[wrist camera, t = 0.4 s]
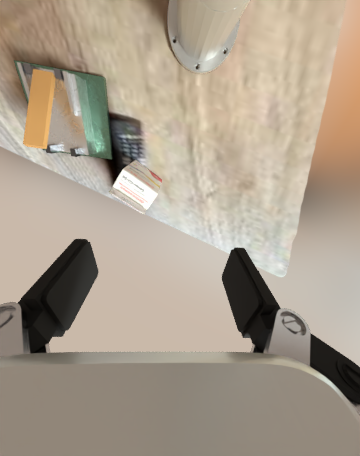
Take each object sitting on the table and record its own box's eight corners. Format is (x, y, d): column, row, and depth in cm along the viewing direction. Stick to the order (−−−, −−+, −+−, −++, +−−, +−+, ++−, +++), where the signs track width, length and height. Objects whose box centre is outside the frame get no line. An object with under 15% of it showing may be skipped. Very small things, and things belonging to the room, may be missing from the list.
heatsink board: (18, 62, 29) (-22, 45, 23) (105, 78, 30) (89, 66, 25) (45, 149, 37) (21, 153, 31) (113, 158, 38) (102, 164, 33)
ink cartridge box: (163, 179, 42) (158, 199, 29) (153, 192, 44) (145, 217, 32) (135, 158, 39) (117, 172, 26) (126, 174, 41) (105, 193, 28)
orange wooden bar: (37, 73, 26) (33, 68, 25) (55, 77, 26) (52, 72, 25) (27, 146, 25) (23, 143, 25) (46, 149, 26) (43, 146, 25)
